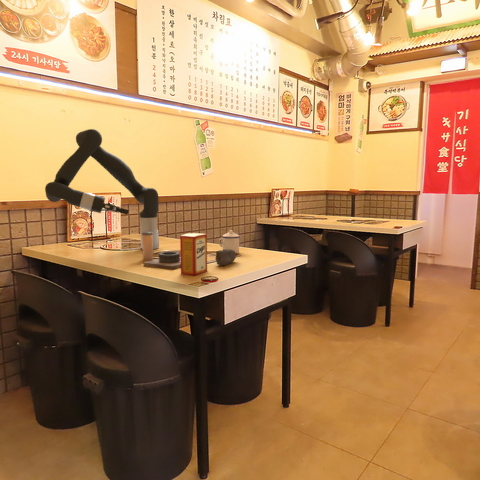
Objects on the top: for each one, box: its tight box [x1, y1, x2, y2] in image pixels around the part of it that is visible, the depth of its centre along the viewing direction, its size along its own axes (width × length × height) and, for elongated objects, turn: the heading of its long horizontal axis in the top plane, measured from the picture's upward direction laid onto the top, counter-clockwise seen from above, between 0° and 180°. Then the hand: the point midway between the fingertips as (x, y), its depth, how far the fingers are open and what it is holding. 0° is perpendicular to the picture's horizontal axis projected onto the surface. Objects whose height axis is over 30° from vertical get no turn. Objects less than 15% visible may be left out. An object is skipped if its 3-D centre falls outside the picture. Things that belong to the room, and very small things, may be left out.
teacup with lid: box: [218, 229, 240, 254], centre depth 208 cm, size 12×9×12 cm
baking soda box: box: [179, 232, 208, 277], centre depth 161 cm, size 10×6×16 cm
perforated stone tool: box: [214, 249, 237, 267], centre depth 179 cm, size 15×5×7 cm, turn 148°
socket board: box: [143, 251, 181, 271], centre depth 178 cm, size 16×16×5 cm
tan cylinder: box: [142, 232, 154, 261], centre depth 188 cm, size 5×5×13 cm
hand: (128, 212), depth 186 cm, fingers open, 8 cm apart
